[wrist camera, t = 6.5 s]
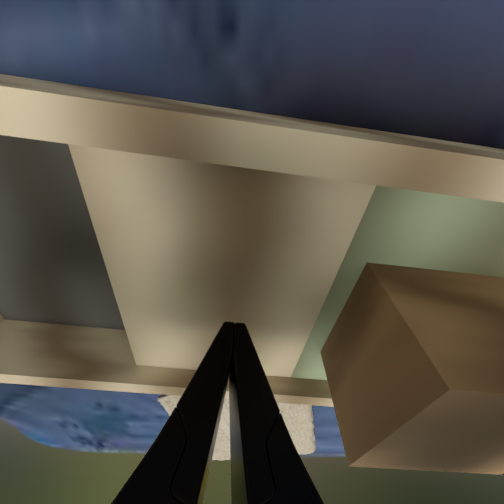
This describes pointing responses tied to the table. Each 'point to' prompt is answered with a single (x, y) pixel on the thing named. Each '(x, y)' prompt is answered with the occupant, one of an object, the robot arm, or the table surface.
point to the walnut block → (420, 370)
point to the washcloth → (293, 415)
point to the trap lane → (211, 233)
